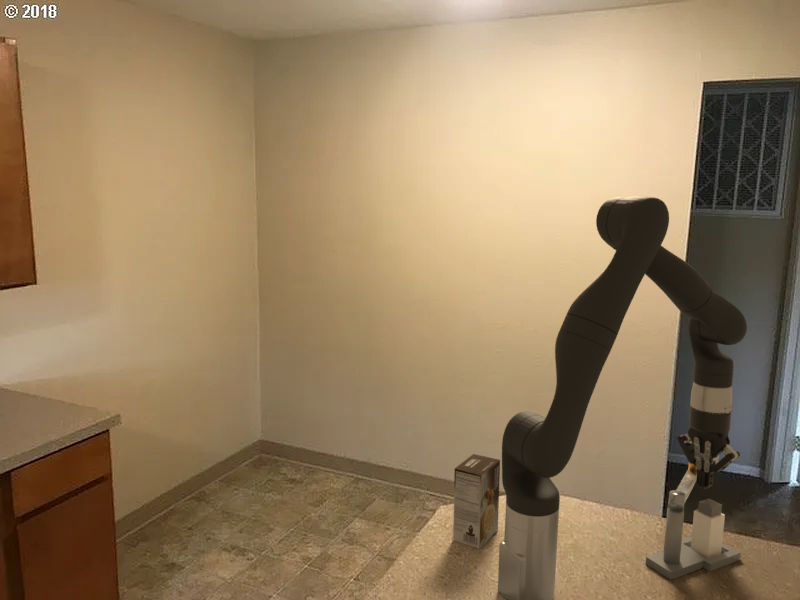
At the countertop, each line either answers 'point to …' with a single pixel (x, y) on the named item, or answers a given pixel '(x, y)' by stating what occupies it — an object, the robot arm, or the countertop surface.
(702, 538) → the plug
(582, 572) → the countertop surface
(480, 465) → the coffee box
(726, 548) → the dock
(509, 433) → the robot arm
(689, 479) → the long flat grey beam
